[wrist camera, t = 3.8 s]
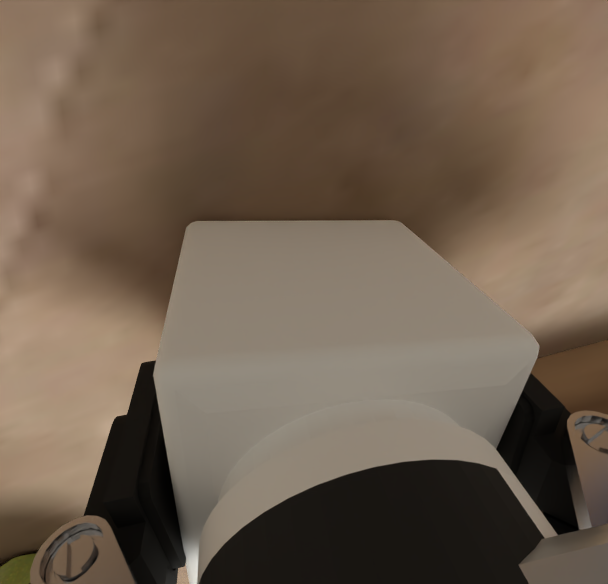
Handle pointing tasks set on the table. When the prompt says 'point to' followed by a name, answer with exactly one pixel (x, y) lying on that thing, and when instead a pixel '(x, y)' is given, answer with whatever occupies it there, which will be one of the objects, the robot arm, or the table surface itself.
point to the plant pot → (17, 570)
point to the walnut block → (577, 377)
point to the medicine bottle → (340, 410)
